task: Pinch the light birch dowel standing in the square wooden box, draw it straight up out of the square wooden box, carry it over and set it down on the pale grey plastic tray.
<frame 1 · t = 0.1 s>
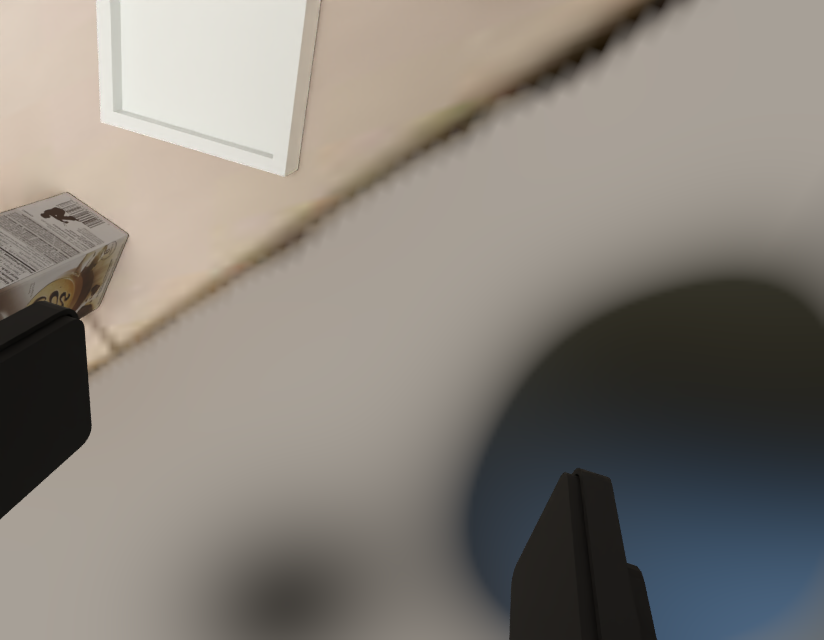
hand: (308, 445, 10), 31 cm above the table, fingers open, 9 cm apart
tray: (215, 33, 37), on the table
coffee box: (85, 251, 48), on the table
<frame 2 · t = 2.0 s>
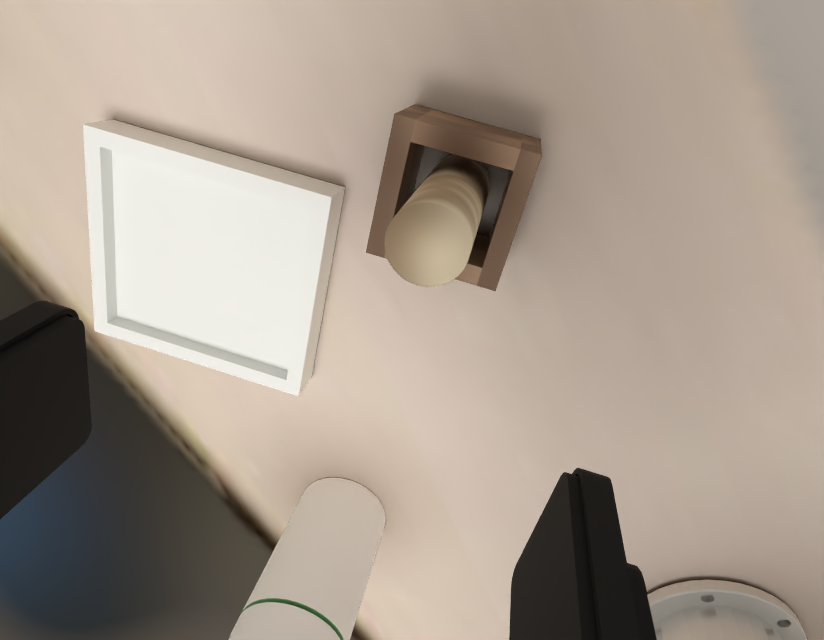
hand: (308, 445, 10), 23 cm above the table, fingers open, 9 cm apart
square wooden box: (459, 184, 31), on the table
tray: (220, 258, 36), on the table
dowel: (459, 184, 31), resting in square wooden box
cylindrical container: (343, 509, 44), on the table
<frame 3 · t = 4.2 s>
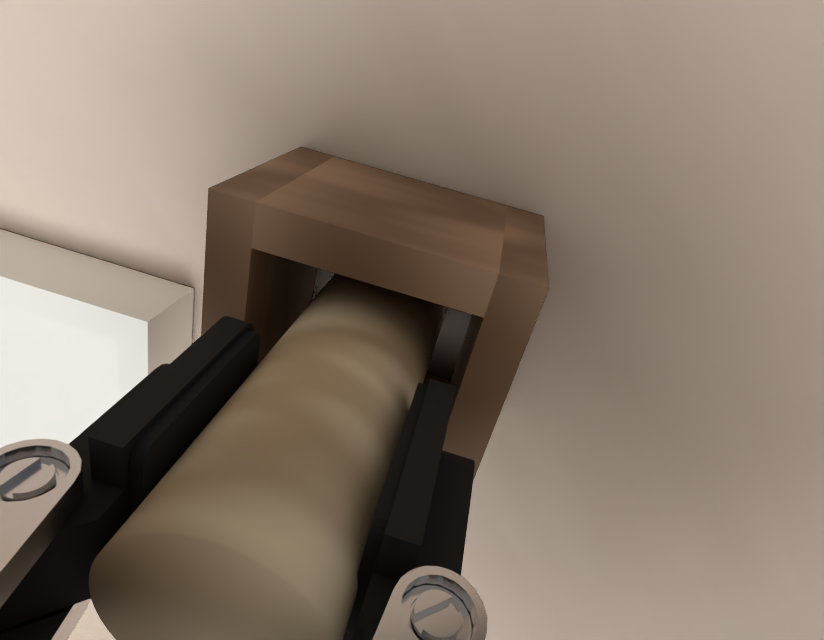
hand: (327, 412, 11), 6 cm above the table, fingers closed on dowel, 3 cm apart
square wooden box: (393, 291, 17), on the table
tray: (13, 387, 22), on the table
dowel: (393, 291, 17), resting in square wooden box, touching gripper
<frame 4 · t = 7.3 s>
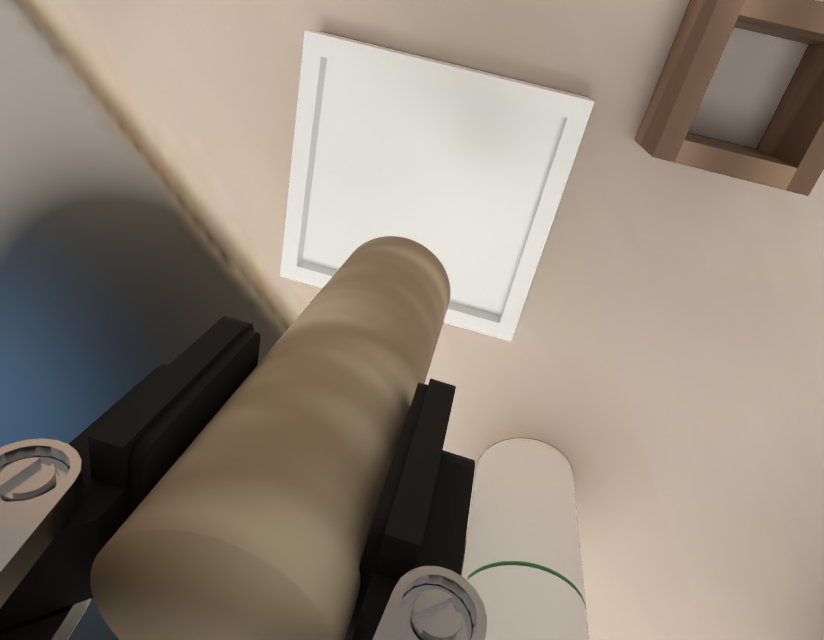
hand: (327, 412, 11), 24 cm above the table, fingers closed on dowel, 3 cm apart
square wooden box: (731, 87, 27), on the table
tray: (424, 189, 33), on the table
dowel: (395, 289, 17), point 17 cm above the table, touching gripper
cylindrical container: (523, 474, 41), on the table
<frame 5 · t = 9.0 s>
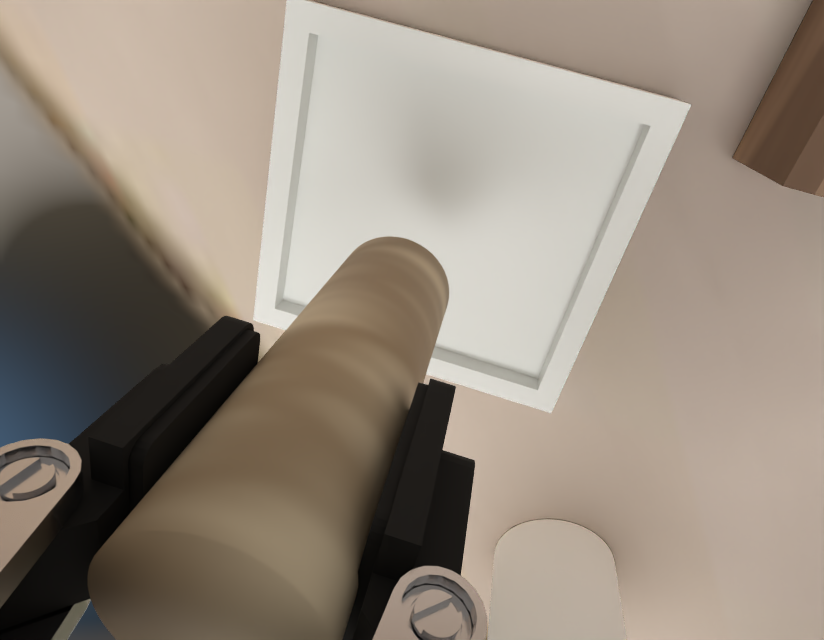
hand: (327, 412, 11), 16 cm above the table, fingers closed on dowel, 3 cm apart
tray: (444, 214, 25), on the table
dowel: (394, 289, 17), point 9 cm above the table, touching gripper
cylindrical container: (553, 560, 33), on the table
when the fingers open (9 cm above the table, at t = 10.5 s): dowel stays where it is, resting on tray.
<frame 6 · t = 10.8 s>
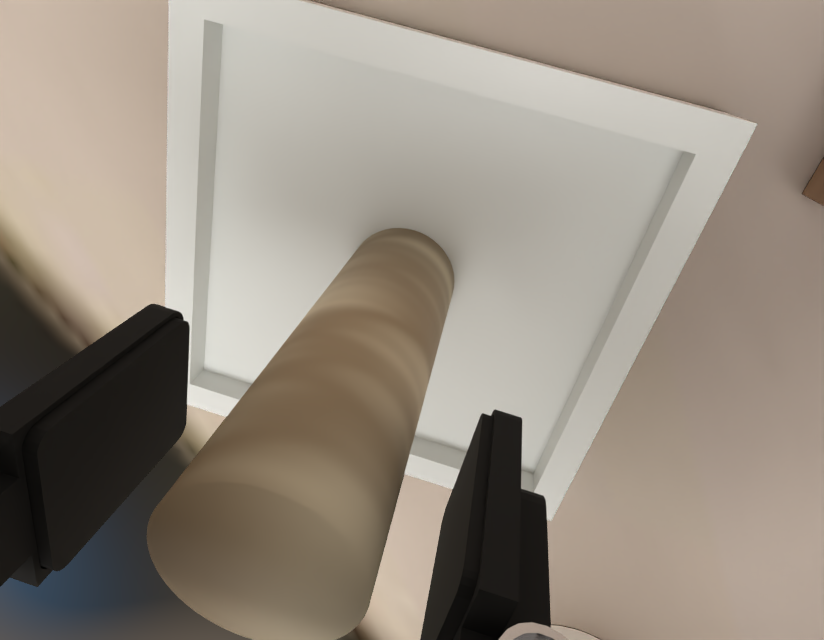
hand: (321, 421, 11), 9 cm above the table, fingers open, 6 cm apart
tray: (409, 262, 19), on the table
dowel: (401, 279, 18), point 2 cm above the table, touching tray
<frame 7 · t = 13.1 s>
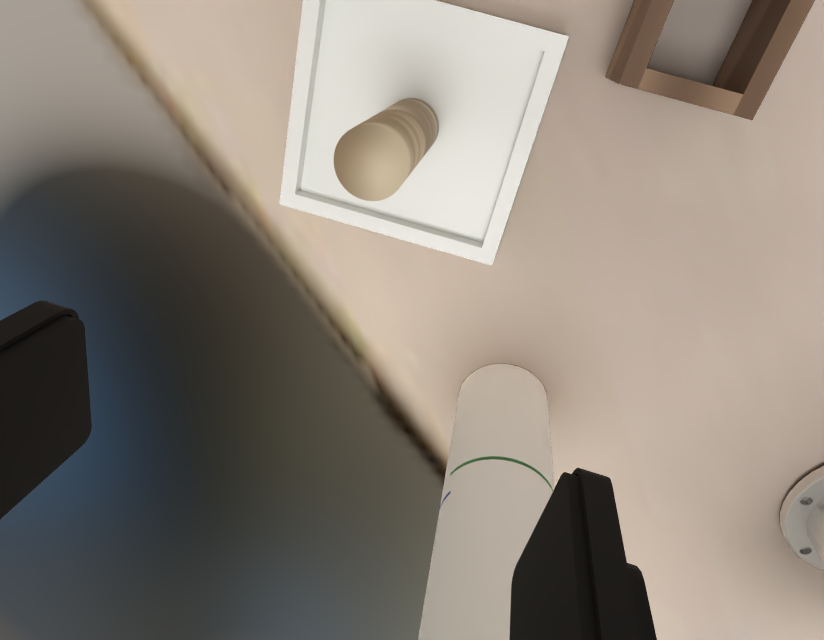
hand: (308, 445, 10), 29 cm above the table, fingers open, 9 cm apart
square wooden box: (690, 27, 31), on the table
tray: (414, 123, 36), on the table
dowel: (411, 126, 34), point 2 cm above the table, touching tray
cylindrical container: (502, 399, 45), on the table
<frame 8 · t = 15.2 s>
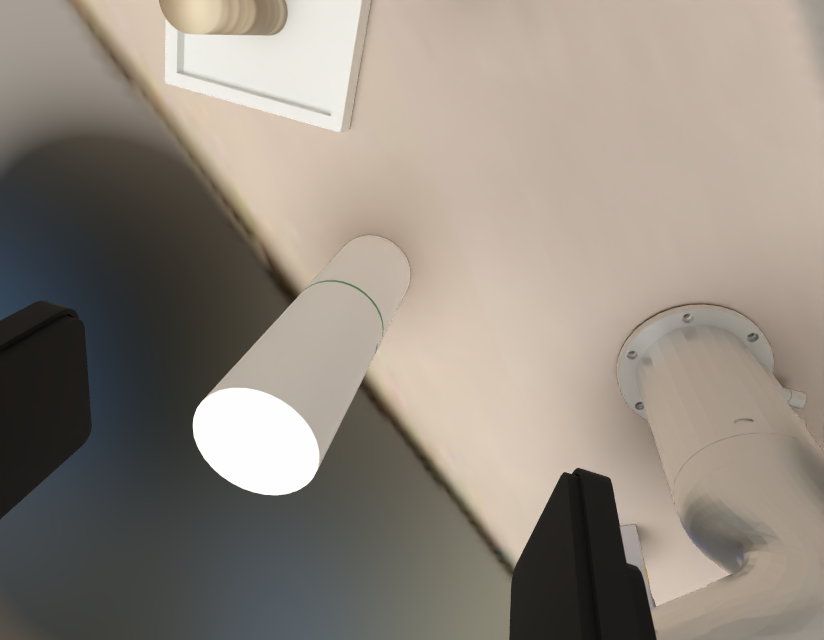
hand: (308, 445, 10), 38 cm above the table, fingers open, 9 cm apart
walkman: (600, 536, 60), on the table
tray: (273, 11, 43), on the table
dowel: (266, 10, 41), point 2 cm above the table, touching tray
cylindrical container: (373, 271, 51), on the table
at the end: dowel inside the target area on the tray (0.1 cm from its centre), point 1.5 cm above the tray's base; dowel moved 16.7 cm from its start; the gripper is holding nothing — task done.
